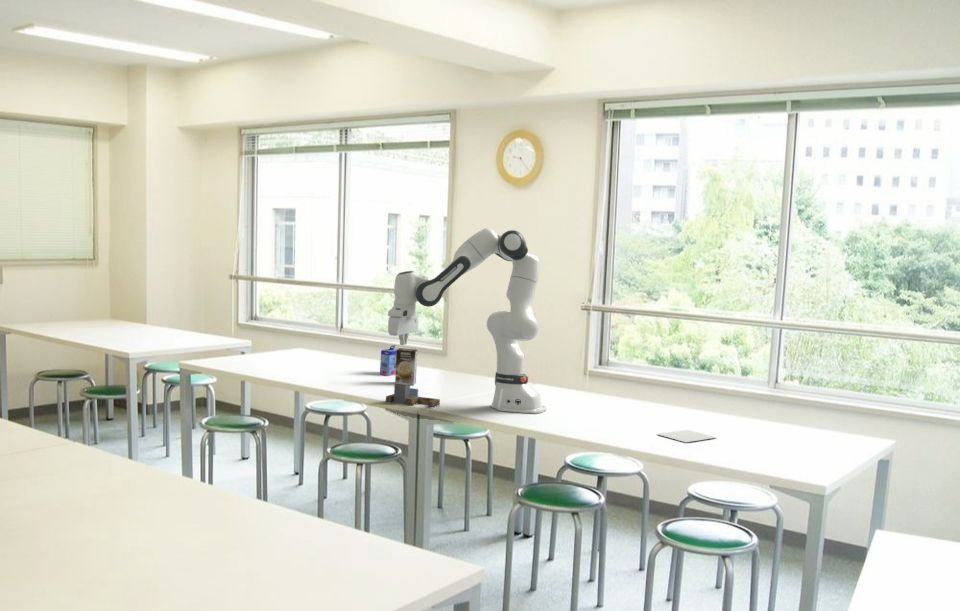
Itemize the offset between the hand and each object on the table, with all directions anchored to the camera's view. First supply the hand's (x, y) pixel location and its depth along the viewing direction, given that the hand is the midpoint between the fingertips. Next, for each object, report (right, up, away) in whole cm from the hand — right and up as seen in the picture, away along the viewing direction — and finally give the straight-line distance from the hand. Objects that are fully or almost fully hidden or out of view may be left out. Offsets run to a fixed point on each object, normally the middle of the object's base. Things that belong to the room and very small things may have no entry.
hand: (403, 344), depth 352 cm
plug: (-1, -24, +2) cm, 24 cm away
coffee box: (-3, -20, +47) cm, 51 cm away
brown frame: (+4, -24, +2) cm, 24 cm away
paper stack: (+105, -33, -46) cm, 119 cm away
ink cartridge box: (-13, -18, +72) cm, 76 cm away
